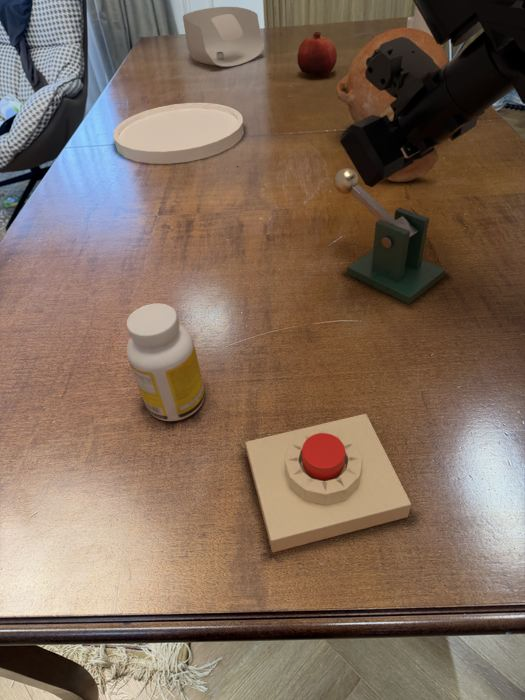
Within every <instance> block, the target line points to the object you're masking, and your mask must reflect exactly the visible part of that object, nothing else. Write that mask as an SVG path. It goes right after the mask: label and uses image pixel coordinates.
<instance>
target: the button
mask: <svg viewBox="0 0 525 700" xmlns="http://www.w3.org/2000/svg"><path fill="white" fill-rule="evenodd" d="M302 463H303V467H304V469H305V471H306V472H307V473H308V474H309V475H310V476H312V477H314V478H316V479H320V480H328V479H332V478H334V477H336V476H338V475H339V474H340V473H341V472H342V470H343V468H344V463H345V447H344V445H343V443H342V442H341V441H340V439H338V438H337V437H336V436H334V435H331V434H327V433H319V434H315V435H312V436H311V437H309V438H308V439H307V440H306V441H305V442H304V444H303V447H302Z"/></svg>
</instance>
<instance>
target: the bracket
mask: <svg viewBox="0 0 525 700" xmlns="http://www.w3.org/2000/svg"><path fill="white" fill-rule="evenodd" d="M402 216H403V217H404V218H405V219H406V220H407V221H408V222H409V223H410V224H411V225H412V226H414V227H415V228H416V229H417V230H418V232H417V233H416V235H415V236H414V237H413V239H412V240H411V241H410V243H409V237H410V231H408V230H406V229H403V228H401V227H398V226H396V225H393V224H391V223H388V222H386V221H383V220H378V221H376V222H375V227H374V236H373V237H374V238H373V248H372V250H371V251H370V252H368V253H367V254H365V255H364V256H362V257H361V258H359V259H358V260H356V261H355V262H353V263H352V264H350V265H348V266H347V275H348V276H350V277H352V278H354V279H356V280H358V281H360V282H362V283H364V284H366V285H368V286H370V287H373V288H375V289H376V290H379V291H380V292H382V293H385V294H386V295H388V296H390V297H392V298H395V299H397V300H398V301H401V302H403V303H404V304H407V305H410V304H411V303H413V302H414V301H415V300H416V299H418V298H420V296H422V295H424V293H426V292H427V291H428V290H430V289H431V288H432V287H433V286H434V285H435V284H437V283H439V282H440V281H441V280H442V279H443V278H445V276H446V272H447V271H446V270H447V269H446V268H443V267H441V266H439V265H437V264H435V263H432V262H429V261H427V260H425V259H423V257H424V252H425V247H426V246H425V245H426V241H427V240H426V239H427V234H428V229H429V223H430V218H429V217H427V216H425V215H421V214H419V213H417V212H414V211H411V210H408V209H405V208H402V207H398V208H396V209H395V211H394V217H393V218H394V219H395V220H397V219H399V218H400V217H402ZM408 243H409V244H408Z"/></svg>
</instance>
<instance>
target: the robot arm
mask: <svg viewBox="0 0 525 700" xmlns="http://www.w3.org/2000/svg"><path fill="white" fill-rule="evenodd" d="M412 2H413V3H414V6H415V5H416V6H417V8H418V10H419V12H420V14H421V15H422V17H423V19H424V21H425V23H426V25H427V26H428V28H429V30H430V32H431V34H432V35H433V37H434V39H435V41H436V43H437V44H440V45H444V44H446V43H447V42H448V41H450V44H451V46H452V47H453V48H456V47H458V46H460V45H462V44H464V43H465V42H466V41H467V40H470V39H471V38H472V37H473V36H475V35H476V34H477V33H478V32H480V31H481V30H483V31H482V32H481V33H480V34H478V36H476V38H474V39H473V40H472V41H471V42H470V43H469V44H468V45H466V46H465V47H464V48H463V49H462V50H461V51H459V53H458V54H456V55H455V56H454V57H453V58H452V59H451V60H450V61H448V64H446V65H444V66H443V67H442V68H441V69H440V68H439V67H438V65H437V64H436V63H434V60H433V59H432V58H431V57H430V56H429V55H428V54H426V53H425V52H424V51H423V50H422V49H421V48H419V47H418V46H417V45H416V44H415V43H413V42H412V41H411V40H410V39H408V38H405V37H399V38H396V39H393V40H391V41H388V42H385V43H383V44H381V45H380V47H379V48H378V49H376V50H375V51H374V53H373V55H372V56H371V57H369V58H367V60H366V66H367V68H366V71H365V76H366V79H367V80H368V81H369V82H370V83H371V84H373V85H374V86H375V87H376V88H377V89H378V90H379V91H382V90H385V91H386V92H388V93H389V94H390V95H391V96H393V97H394V98H397V99H395V100H394V101H393V102H392V103H391V104H390V106H391V108H392V110H393V112H394V116H393V120H392V121H390V119H389V118H388V116H387V115H385V116H383V117H379V116H376V115H371V116H368V117H366V118H364V119H362V120H360V121H358V122H356V123H355V122H354V123H351V124H350V125H349V126H348V127H347V128H346V129H345V130H344V131H343V132H342V133H340V138H339V142H340V144H341V145H342V147H343V149H344V151H345V153H346V154H347V156H348V158H349V159H350V161H351V163H352V164H353V166H354V168H355V170H356V172H357V174H358V176H359V177H360V178H361V180H362V182H363V183H364V185H365V186H367V187H369V188H373V187H375V186H377V185H378V184H380V183H382V182H384V181H385V180H388V179H387V178H389V177H390V176H392V175H393V174H395V173H396V172H398V171H399V170H402V169H404V168H405V167H407V166H409V165H410V164H412V163H414V162H413V160H417V159H421V158H423V157H424V156H426V155H428V154H430V153H431V152H433V151H434V147H435V146H436V147H437V146H438V145H440V144H442V143H443V142H445V141H447V140H449V139H450V140H451V142H453V141H454V140H455V141H456V139H458V138H460V137H462V136H463V135H464V134H467V133H468V132H469V131H471V130H472V129H474V128H475V127H476V126H477V122H478V118H479V117H481V116H483V114H485V112H486V110H488V109H489V108H490V107H492V106H493V105H495V104H496V103H498V102H499V101H500V100H501V99H503V98H504V97H506V96H507V95H509V94H510V93H512V92H513V91H514V90H515V92H516V94H517V96H518V98H519V100H520V101H521V103H522V104H524V105H525V0H412Z"/></svg>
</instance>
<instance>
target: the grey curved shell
mask: <svg viewBox="0 0 525 700" xmlns="http://www.w3.org/2000/svg"><path fill="white" fill-rule="evenodd" d="M182 22H183V28H184V35H185V40H186V45H187V49H188V52H189V55H190V57H192V59H193V60H195V61H197V62H198V63H201V64H205V65H210V66H217V67H234V66H240V65H242V64H245V63H248V62H250V61H252V60H254V59H255V58H256V57H258V56H260V54H261V53H262V52H263V51H264V48H265V40H264V38H263V36H262V35H261V28H260V23H259V22H260V21H259V16H258V13H256V12H255V11H253V10H251V9H248V8H244V7H239V6H215V7H208V8H202V9H198V10H193V11H190V12H188V13H185V14H184V15H183V16H182Z"/></svg>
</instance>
